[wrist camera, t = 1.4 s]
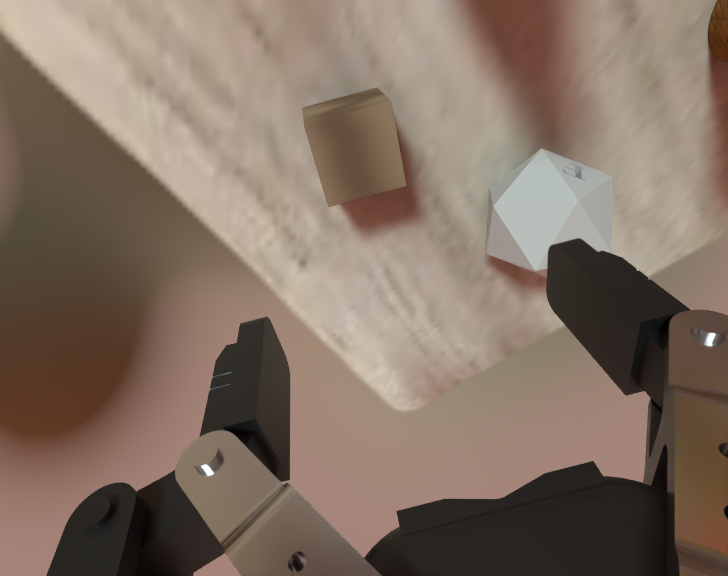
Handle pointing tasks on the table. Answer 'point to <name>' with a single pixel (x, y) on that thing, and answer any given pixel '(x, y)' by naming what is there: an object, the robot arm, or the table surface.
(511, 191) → the die
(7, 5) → the table surface
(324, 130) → the walnut cube
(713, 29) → the disposable coffee cup
